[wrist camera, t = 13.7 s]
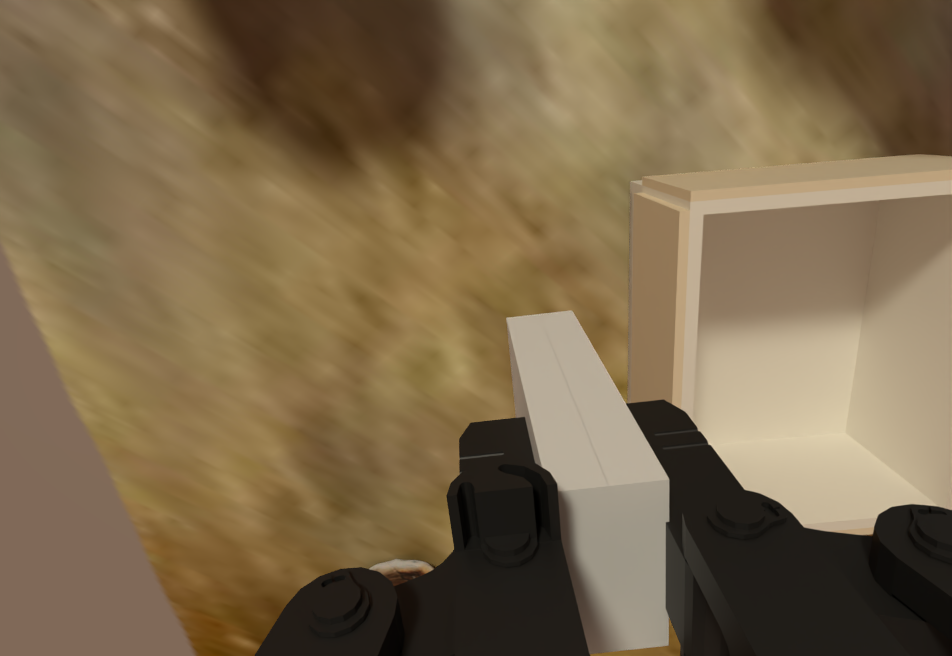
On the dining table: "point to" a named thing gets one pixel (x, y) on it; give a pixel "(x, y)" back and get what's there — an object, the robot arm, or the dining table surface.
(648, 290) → the carton
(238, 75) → the dining table surface
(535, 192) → the dining table surface
